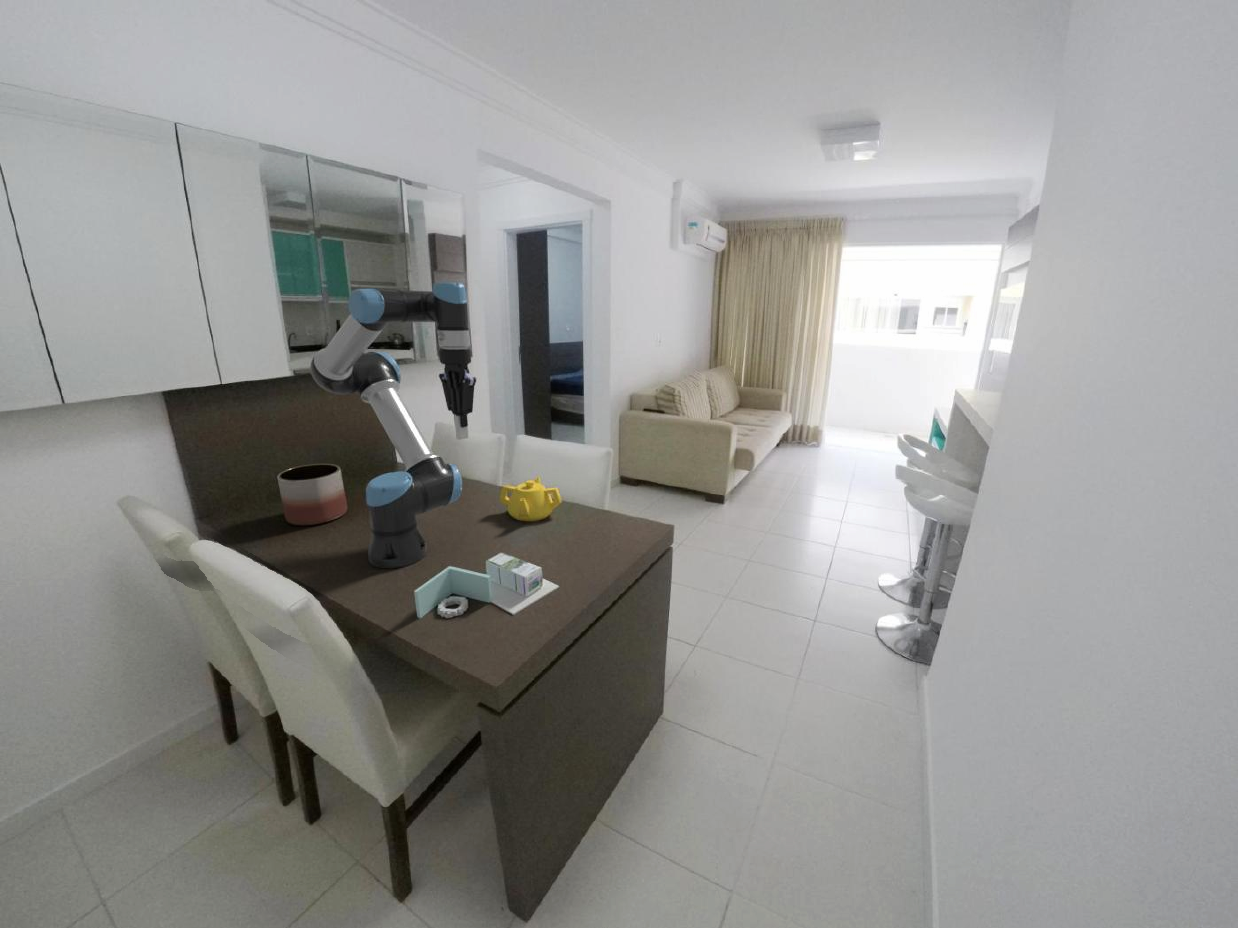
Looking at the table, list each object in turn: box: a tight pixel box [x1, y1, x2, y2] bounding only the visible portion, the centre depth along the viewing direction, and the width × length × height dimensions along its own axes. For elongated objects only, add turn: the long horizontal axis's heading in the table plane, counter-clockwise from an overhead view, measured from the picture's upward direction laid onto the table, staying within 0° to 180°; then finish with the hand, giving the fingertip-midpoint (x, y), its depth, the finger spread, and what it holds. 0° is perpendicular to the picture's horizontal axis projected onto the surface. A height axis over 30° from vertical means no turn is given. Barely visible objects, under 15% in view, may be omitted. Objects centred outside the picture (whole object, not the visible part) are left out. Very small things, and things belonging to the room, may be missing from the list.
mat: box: [491, 578, 560, 616], centre depth 122 cm, size 16×15×1 cm
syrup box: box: [485, 551, 544, 596], centre depth 123 cm, size 6×6×14 cm
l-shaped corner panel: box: [413, 565, 492, 619], centre depth 113 cm, size 12×12×8 cm
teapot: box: [498, 477, 563, 522], centre depth 165 cm, size 17×17×12 cm
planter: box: [276, 463, 348, 526], centre depth 159 cm, size 18×18×16 cm
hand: (462, 438), depth 129 cm, fingers closed
